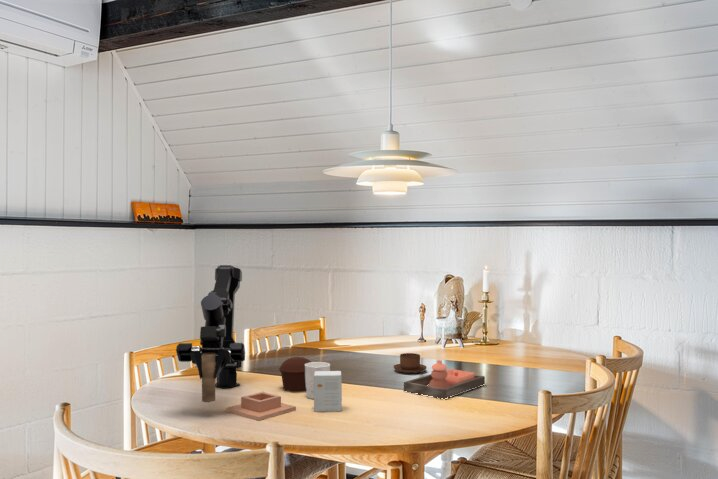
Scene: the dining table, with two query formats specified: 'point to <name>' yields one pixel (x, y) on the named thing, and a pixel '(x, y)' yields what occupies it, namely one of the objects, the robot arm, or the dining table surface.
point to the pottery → (448, 376)
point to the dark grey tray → (421, 388)
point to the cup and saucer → (410, 363)
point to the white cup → (309, 375)
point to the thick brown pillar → (208, 377)
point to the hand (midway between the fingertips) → (207, 377)
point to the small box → (327, 391)
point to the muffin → (294, 374)
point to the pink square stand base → (260, 406)
